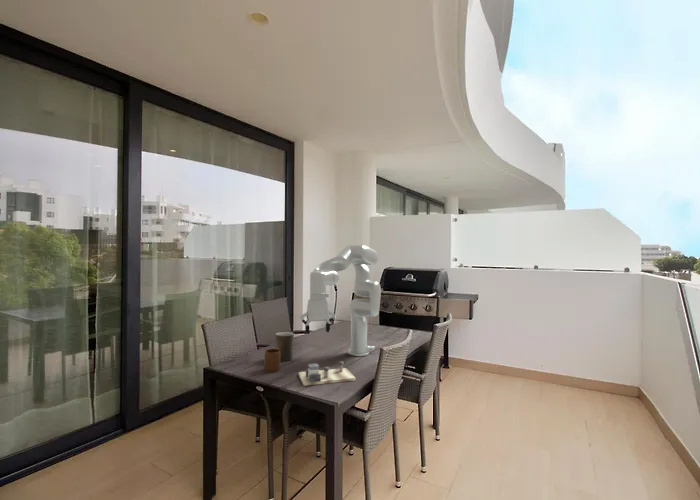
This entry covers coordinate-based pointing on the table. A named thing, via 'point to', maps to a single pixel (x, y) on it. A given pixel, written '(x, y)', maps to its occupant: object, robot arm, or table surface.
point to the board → (331, 377)
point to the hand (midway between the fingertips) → (317, 332)
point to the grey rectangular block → (313, 369)
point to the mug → (272, 360)
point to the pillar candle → (285, 345)
